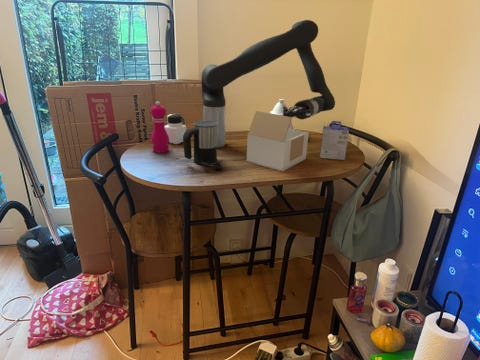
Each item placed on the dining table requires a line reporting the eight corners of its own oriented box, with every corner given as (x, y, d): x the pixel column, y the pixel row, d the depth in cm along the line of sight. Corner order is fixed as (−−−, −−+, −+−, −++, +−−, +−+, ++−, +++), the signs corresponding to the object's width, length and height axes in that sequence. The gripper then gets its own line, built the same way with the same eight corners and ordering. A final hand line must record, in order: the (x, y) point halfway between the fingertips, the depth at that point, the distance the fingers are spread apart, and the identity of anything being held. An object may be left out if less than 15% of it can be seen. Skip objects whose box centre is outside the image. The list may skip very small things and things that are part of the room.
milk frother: (203, 155, 141) (202, 118, 135) (236, 163, 133) (237, 125, 128) (180, 165, 130) (178, 126, 124) (215, 175, 122) (215, 133, 116)
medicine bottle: (186, 141, 158) (186, 114, 153) (176, 144, 153) (174, 117, 148) (175, 138, 162) (173, 112, 157) (164, 141, 156) (162, 115, 151)
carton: (283, 172, 126) (286, 142, 122) (245, 161, 135) (246, 133, 131) (307, 158, 140) (310, 132, 135) (271, 150, 149) (272, 124, 145)
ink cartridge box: (344, 156, 144) (349, 121, 139) (345, 160, 139) (350, 124, 134) (319, 154, 146) (324, 119, 140) (319, 158, 141) (324, 122, 135)
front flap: (283, 142, 122) (283, 141, 122) (248, 134, 130) (248, 133, 130) (292, 117, 123) (291, 117, 122) (256, 111, 131) (255, 110, 130)
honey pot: (293, 140, 163) (297, 101, 155) (266, 140, 163) (268, 100, 156) (290, 133, 174) (293, 96, 167) (264, 132, 174) (266, 95, 167)
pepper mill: (154, 153, 141) (150, 103, 133) (149, 148, 147) (146, 100, 139) (171, 151, 144) (169, 102, 136) (166, 146, 150) (164, 99, 142)
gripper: (292, 97, 149) (271, 103, 136) (321, 101, 142) (301, 108, 129) (291, 115, 152) (269, 122, 139) (319, 120, 145) (299, 128, 132)
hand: (285, 115), depth 134 cm, fingers closed
